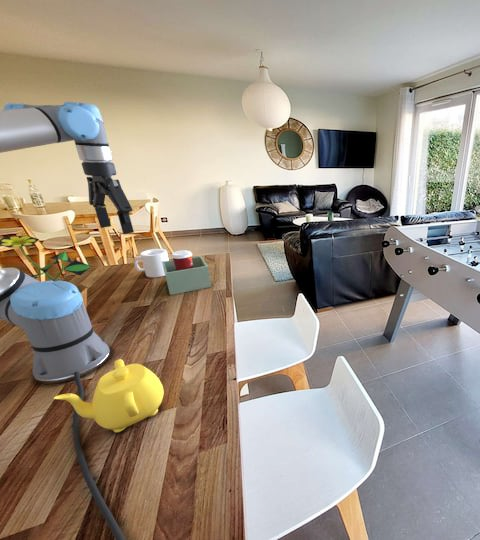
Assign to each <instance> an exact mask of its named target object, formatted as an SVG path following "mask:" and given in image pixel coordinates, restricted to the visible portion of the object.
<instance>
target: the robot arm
mask: <svg viewBox="0 0 480 540" xmlns="http://www.w3.org/2000/svg"><path fill="white" fill-rule="evenodd" d="M104 124H105V122H104V120H103V117H102V114H101V111H100V109H99V108H98V106H96V105H95V104H91V103H85V102H77V101H64V102H63V104H53V105H52V104H48V105H47V104H46V105H45V104H44V105H43V104H40V105H37V104H36V105H35V104H25V103H21V102H20V103H14V102H7V103H5V104H4V105H3V109H2V110H0V153H1V154H2V153H8V152H12V151H19V150H25V149H29V148H35V147H40V146H47V145H53V144H59V143H61V144H62V143H66V142H72V141H74V146H75V148H76V152H77V155H78V159H79V160H80V161H82V162H81V167H82V171H83V173H84V175H85V176H86V181H87V186H88V187H87V190H88V203H89V205H90V206H92V207H93V208H94V211H95V214H96V217H97V220H98V224H99V227H100V228H101V229H103V228H110V227H112V223H111V221H110V216H109V214H108V211H107V210H108V209H107V205H106V203H105V200H106V197H108V198H109V200H110V201H111V203H112V204H113V206H114V207H115V209H116V214H117V217H118V220H119V224H120V228H121V232H122V235H127V234H133V233H134V232H135V231H134V227H133V224H132V220H131V216H130V213H131V212H133V211H134V210H133V207H132V205H131V204H130V201H129V200H128V198H127V195H126V193H125V192H124V190H123V187H122V185H121V182H120V180H119V179H113V177H112V176H117V169H116V166H115V163H113V162H112V161H113V155H112V154H113V150H111V148H110V144H109V141H108V137H107V131H106V129H105V125H104ZM31 276H32V275H29V274H27V273H25V272H24V271H22V270H20V269H18V268H16V267H1V266H0V320H3V321H5V322H7V323H10V324H12V325H14V326H15V327H18V328H20V329H22V330H23V332H24V333H25V336H26V337H27V340H28V342H29V344H30V346H31V348H32V350H33V357H32V359H33V360H32V375H33V377H34V379H35V381H36V382H37V383H38V384H43V385H55V384H56V385H57V384H62V383H66V382H67V383H68V382H70V381H72V380H74V381H75V384H76V388H77V391H78V395H77V396H79V397H80V399H81V400H82V401H84V396H85V389H84V386H83V383H82V379H81V378H82V377H84V376H86V375H88V374H91V373H92V372H94V371H96V370H98V369H99V368H100V367H102V366H103V365H104V364H105V363H106V362H107V361H108V360H109V359H110V357H111V349H110V347H109V345H108V344H107V343H106V341H105V340H104V339H103V338H102V337H100V336H99V335H98V334H97V333H96V332H95V330H94V328H93V325H92V322H91V319H90V316H89V313H88V310H87V307H86V308H85V305H84V302H83V298H82V295H81V294H80V292H79V291H78V289H77V287H76V286H75V285H76V284H74V283H72V282H69V281H64V280H55V282H54V281H53V280H43V281H40V280H38V279H36V278H35V279H34V278H33V277H31ZM72 434H73V443H74V449H75V455H76V458H77V462H78V465H79V468H80V471H81V474H82V477H83V479H84V481H85V483H86V486H87V488H88V490H89V492H90V494H91V496H92V498H93V500H94V502H95V503H96V507H98V509H99V512H100V513H101V516H102V517H103V518H104V520H105V523H106V524H107V526H108V528H109V529H110V531H111V533H112V535H113V537H114V539H115V540H127V539H126V536H125V535H124V533H123V532H122V530H121V528H120V525H119V524H118V522H117V520H116V519H115V517H114V515H113V513H112V511H111V510H110V508H109V507H108V505H107V504H106V501H105V499H104V497H103V496H102V494H101V492H100V491H99V488H98V486H97V484H96V482H95V480H94V478H93V476H92V473H91V471H90V469H89V466H88V463H87V460H86V458H85V457H86V456H85V453H84V450H83V446H82V441H81V440H82V439H81V432H80V415H79V414H78V413H77V412H76V411H75V409H74V411H73V415H72Z"/></svg>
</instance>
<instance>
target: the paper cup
mask: <svg viewBox="0 0 480 540" xmlns="http://www.w3.org/2000/svg"><path fill="white" fill-rule="evenodd" d="M192 257H193V253H192V252H191V251H190V250H189V249H188V250H187V249H183V250H181V249H180V250H176V251H173V252H172V253H171V258H172V260H173V261H174V264H175V268H176V271H179V270H185V269H191V268H193V264H192Z"/></svg>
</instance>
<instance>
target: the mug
mask: <svg viewBox="0 0 480 540" xmlns="http://www.w3.org/2000/svg"><path fill="white" fill-rule="evenodd" d="M140 259H141V262H142V266H143V267H142V268H141V267H140V265H139V262H138V260H140ZM169 260H170V259H169V255H168V250H167V249H166V248H152V249H147V250H144V251H142V252H140V254H139V255H136V256H135V258H134V261H133V263H134V267H135V269H136V270H137V272H144V273H145V276H146V277H148V278H160V277H165V272H164V268H163V264H162V261H169Z"/></svg>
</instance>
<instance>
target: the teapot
mask: <svg viewBox="0 0 480 540" xmlns="http://www.w3.org/2000/svg"><path fill="white" fill-rule="evenodd" d="M113 364H114V366H113V367H114V369H112V370H111V371H109V372H107V373H105V374H103V375H102V376H101V377H100V378H99V380H98V381H97V384H96V387H95V390H94V394H93V397H92V401H90V402H89V401H84V400H83V401H82V400H81V399H80V397H79V396H78V395H77V394H75V393H69V392H68V393H63V394H58V395H56V396H54V397H53V399H54V400H62V401H65V402H68V403H69V404H71V406H72V407H73V409H74V410H75V411H76V412H77V413H78V414H79V417H82V418H85V419H94V421H95V422H96V424H97V425H98V426H100V427H101V428H102V429H103V428H104V429H107V430H111V431H113V432H114V433H120V432H122V431H124V430H125V429H126V428H127V427H130V426H132V425H135V424H137V423H139V422H141V421H143V420H145V419H146V418H150V417H154V416H155V415H157V413H158V412H159V407H160V406H161V404H162V402H163V399H164V394H165V391H164V387H163V383H162V382H161V380H160V378H159V377H158V376H157V375H156V374H155V373H154V372H153V371H152V370H150V369H149V368H147V367H146V366H144V365H142V364H140V363H130V364H127V365H125V361H124V360H123V359H121V358H118V359H116V360H115V361H114V363H113Z"/></svg>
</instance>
